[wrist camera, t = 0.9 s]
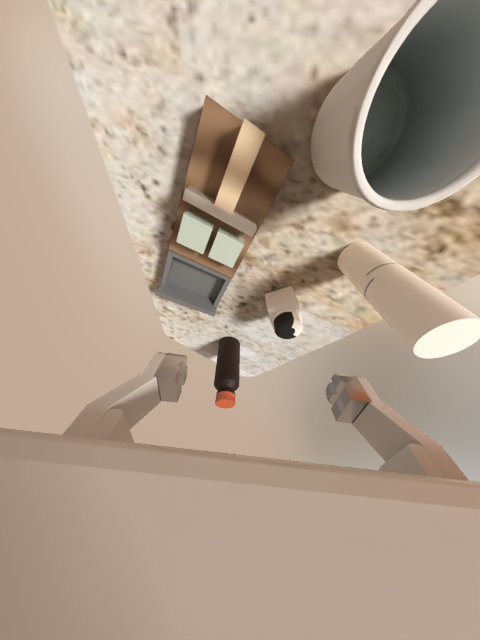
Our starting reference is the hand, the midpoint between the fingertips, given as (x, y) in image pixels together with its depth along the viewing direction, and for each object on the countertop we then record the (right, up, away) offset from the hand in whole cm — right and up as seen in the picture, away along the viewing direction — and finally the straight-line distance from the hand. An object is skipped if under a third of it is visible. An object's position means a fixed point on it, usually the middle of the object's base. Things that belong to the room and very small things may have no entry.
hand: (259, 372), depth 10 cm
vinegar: (-5, -5, +51) cm, 51 cm away
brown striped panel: (-4, +25, +25) cm, 35 cm away
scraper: (-2, +25, +19) cm, 32 cm away
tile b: (-4, +18, +26) cm, 31 cm away
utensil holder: (+17, +32, +18) cm, 40 cm away
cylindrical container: (+25, +17, +31) cm, 43 cm away
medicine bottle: (+10, +8, +39) cm, 41 cm away
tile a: (-9, +20, +24) cm, 32 cm away
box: (-11, +14, +34) cm, 39 cm away
